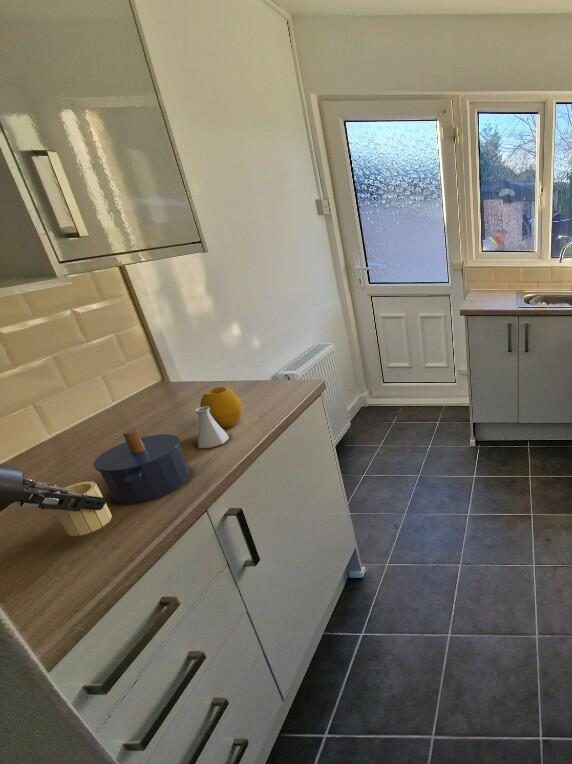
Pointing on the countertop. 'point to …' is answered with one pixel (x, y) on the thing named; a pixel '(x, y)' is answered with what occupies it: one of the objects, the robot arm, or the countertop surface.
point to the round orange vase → (223, 406)
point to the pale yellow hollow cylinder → (84, 512)
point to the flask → (209, 429)
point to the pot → (148, 479)
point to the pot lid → (136, 451)
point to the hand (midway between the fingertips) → (91, 500)
